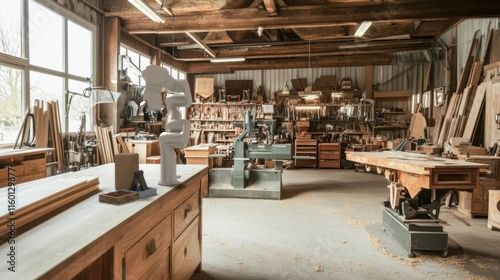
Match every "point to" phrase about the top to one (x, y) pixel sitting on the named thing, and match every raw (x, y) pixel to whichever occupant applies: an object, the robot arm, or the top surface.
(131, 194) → the walnut bin
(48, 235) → the top surface
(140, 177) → the black angular piece
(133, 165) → the block
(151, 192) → the slate tray
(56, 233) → the top surface
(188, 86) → the robot arm
